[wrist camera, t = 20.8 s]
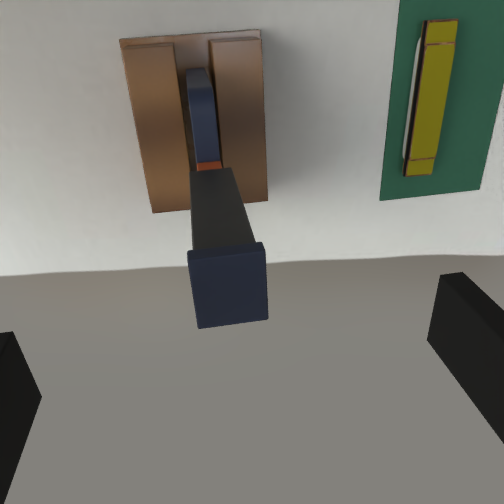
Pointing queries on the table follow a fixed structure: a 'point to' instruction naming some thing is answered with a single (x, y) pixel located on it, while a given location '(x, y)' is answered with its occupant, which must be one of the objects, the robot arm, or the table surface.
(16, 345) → the robot arm
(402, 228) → the table surface
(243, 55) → the stand
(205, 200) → the racket
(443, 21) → the harmonica
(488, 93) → the mat
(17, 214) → the table surface
